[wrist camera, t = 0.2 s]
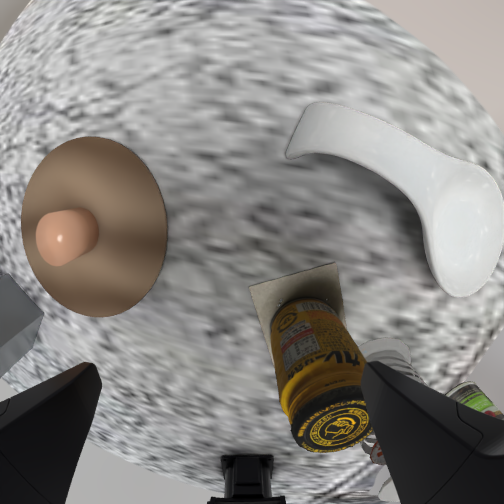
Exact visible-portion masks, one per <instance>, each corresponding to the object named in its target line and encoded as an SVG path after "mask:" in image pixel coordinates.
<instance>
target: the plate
mask: <svg viewBox="0 0 504 504" xmlns="http://www.w3.org/2000/svg"><path fill="white" fill-rule="evenodd" d="M78 207H81V208H85V209H87V210H89V211H90V212H91V213H92V214H93V215H94V217H95V219H96V221H97V224H98V228H99V237H98V241H97V244H96V246H95V247H94V248H93V249H92V250H91V251H90V252H88V253H86V254H84V255H82V256H80V257H78V258H76V259H74V260H72V261H70V262H68V263H66V264H64V265H62V266H52V265H50V264H49V263H47V262H46V261H45V260H44V259H43V257H42V256H41V254H40V252H39V250H38V247H37V243H36V229H37V226H38V223H39V221H40V220H41V218H42V217H43V216H44V215H46V214H48V213H53V212H58V211H63V210H68V209H73V208H78ZM21 230H22V239H23V245H24V249H25V253H26V256H27V259H28V261H29V264H30V266H31V268H32V270H33V272H34V274H35V276H36V278H37V279H38V281H39V282H40V284H41V285H42V286H43V288H44V289H45V290H46V291H47V292H48V293H49V294H50V295H51V296H52V297H53V298H54V299H55V300H56V301H57V302H59V303H60V304H61V305H63V306H64V307H66V308H67V309H69V310H72V311H74V312H76V313H79V314H82V315H85V316H90V317H108V316H114V315H117V314H120V313H122V312H124V311H126V310H128V309H130V308H131V307H133V306H134V305H136V304H137V303H138V302H139V301H140V300H141V299H142V298H143V297H144V296H145V295H146V294H147V292H148V291H149V290H150V288H151V287H152V286H153V284H154V282H155V281H156V279H157V277H158V275H159V273H160V270H161V267H162V265H163V261H164V257H165V253H166V246H167V218H166V211H165V207H164V202H163V199H162V196H161V193H160V190H159V187H158V185H157V183H156V181H155V179H154V177H153V176H152V174H151V173H150V171H149V170H148V168H147V167H146V165H145V164H144V163H143V162H142V161H141V160H140V158H139V157H138V156H136V155H135V154H134V153H133V152H132V151H131V150H129V149H128V148H126V147H124V146H123V145H121V144H119V143H117V142H114V141H112V140H109V139H105V138H100V137H81V138H76V139H73V140H70V141H67V142H65V143H63V144H61V145H60V146H58V147H57V148H55V149H54V150H52V151H51V152H50V153H49V154H48V155H47V156H46V157H45V158H44V159H43V160H42V162H41V163H40V164H39V165H38V167H37V168H36V170H35V171H34V173H33V175H32V177H31V179H30V181H29V183H28V186H27V189H26V192H25V196H24V200H23V205H22V213H21Z"/></svg>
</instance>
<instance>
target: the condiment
mask: <svg viewBox="0 0 504 504" xmlns="http://www.w3.org/2000/svg"><path fill="white" fill-rule="evenodd" d="M249 289H250V292H251V296H252V299H253V302H254V305H255V309H256V312H257V315H258V318H259V321H260V325H261V328H262V331H263V334H264V337H265V340H266V343H267V347H268V350H269V353H270V356H271V359H272V362H273V366H274V368H275V374H276V379H277V386H278V392H279V402H280V404H281V407H282V409H283V412H284V413H285V414H286V415H287V416H288V419H289V422H290V425H291V432H292V435H293V437H294V439H295V441H296V443H297V444H298V445H299V446H300V447H302V448H304V449H306V450H307V451H310V452H318V453H327V452H336V451H340V450H344V449H346V448H348V447H353V446H354V445H355V444H357V443H359V442H360V441H363V440H364V439H365V438H366V437H368V436H369V435H370V434H371V433H372V432H373V428H372V425H371V422H370V419H369V415H368V412H367V408H366V404H365V400H364V397H363V393H362V389H361V378H362V374H363V370H364V366H365V364H366V363H367V361H366V359H365V358H364V356H363V354H362V353H361V351H360V350H359V348H358V347H357V345H356V343H355V342H354V341H353V339H352V337H351V336H350V334H349V333H348V331H347V326H346V321H345V314H344V306H343V299H342V294H341V288H340V283H339V277H338V271H337V266H336V263H332V264H329V265H325V266H321V267H317V268H314V269H310V270H307V271H303V272H299V273H296V274H292V275H289V276H284V277H282V278H279V279H275V280H271V281H267V282H264V283H261V284H257V285H254V286H250V287H249ZM280 299H283V300H282V302H281V303H280V302H279V301H280ZM326 299H328V300H326ZM278 304H280V306H279V307H277V305H278Z"/></svg>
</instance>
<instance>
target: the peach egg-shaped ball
mask: <svg viewBox="0 0 504 504" xmlns="http://www.w3.org/2000/svg"><path fill="white" fill-rule="evenodd" d="M98 237H99V228H98V224H97V221H96V219H95V217H94V215H93V214H92V213H91V212H90V211H89V210H87V209H85V208H81V207H78V208H73V209H68V210H63V211H58V212H53V213H48V214H46V215H44V216H43V217H42V218H41V220H40V221H39V223H38V226H37V229H36V243H37V247H38V250H39V252H40V254H41V256H42V257H43V259H44V260H45V261H46V262H47V263H49V264H50V265H52V266H62V265H64V264H66V263H68V262H70V261H72V260H74V259H76V258H78V257H80V256H82V255H84V254H86V253H88V252H90V251H91V250H92V249H93V248H94V247H95V246H96V244H97V241H98Z"/></svg>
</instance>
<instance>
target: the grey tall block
mask: <svg viewBox="0 0 504 504" xmlns="http://www.w3.org/2000/svg"><path fill="white" fill-rule="evenodd" d="M43 315H44V313H43V312H42V311H41V310H40V309H39V308H38V306H37V305H36V304H35V303H34V302H33V301H32V300H31V299H30V298H29V297H28V296H27V295H26V294H25V292H24V291H23V290H22V289H21V288H20V287H19V286H18V285H17V283H16V282H15V281H14V280H13V279H12V278H11V276H10V275H9V274H6V275H4V276H2V277H0V378H1V377H2V376H3V375H4V374H5V373H6V372H7V371H8V370H9V369H10V368H11V367H12V366H13V365H14V364H16V363H17V362H18V361H19V360H20V359H21V358H22V357H23V356H24V355H25V354H26V353H27V352H28V351H29V350H31V349H32V348H33V344H34V341H35V338H36V335H37V332H38V329H39V326H40V323H41V321H42V318H43Z"/></svg>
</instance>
